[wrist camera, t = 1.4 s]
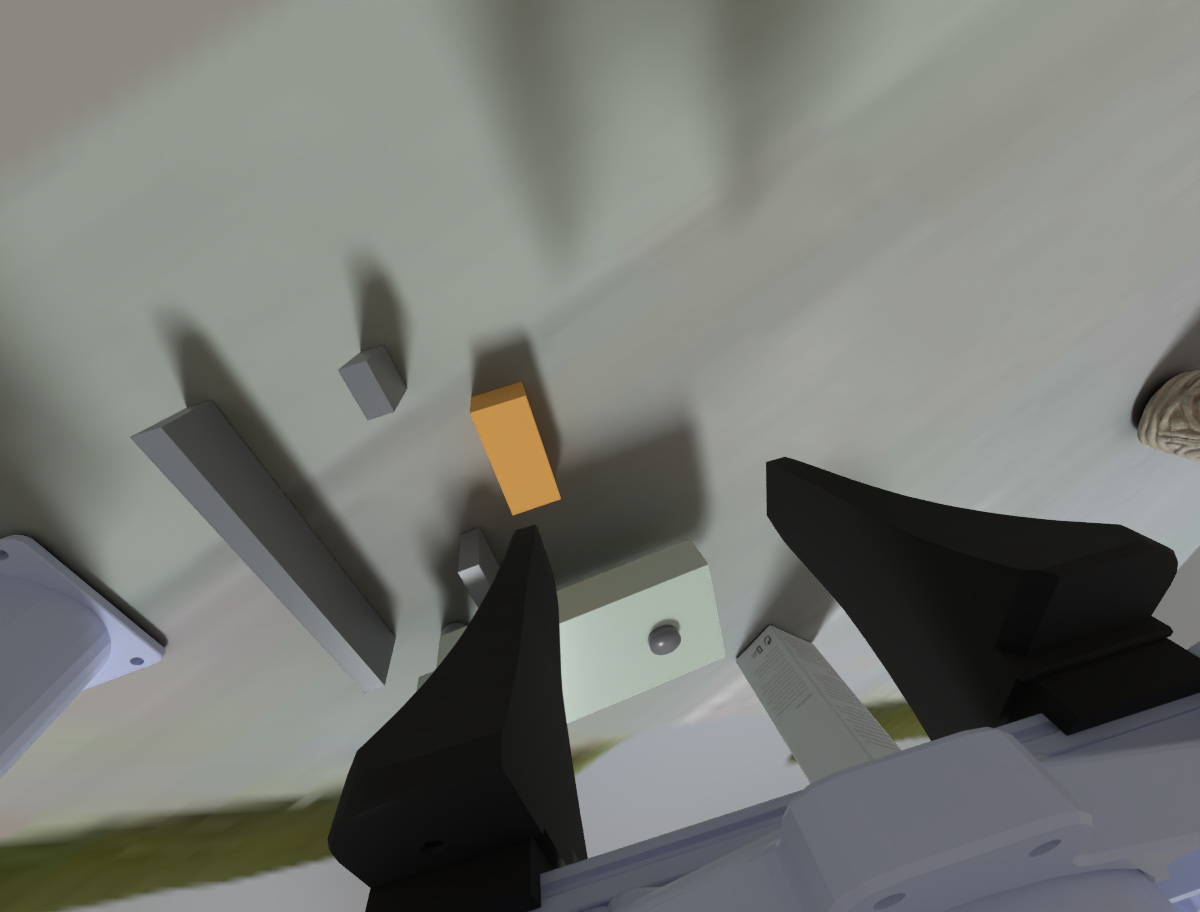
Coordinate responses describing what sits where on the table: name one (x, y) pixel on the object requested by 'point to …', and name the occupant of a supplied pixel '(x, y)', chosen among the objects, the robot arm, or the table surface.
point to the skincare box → (812, 705)
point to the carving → (1174, 417)
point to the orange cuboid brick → (514, 447)
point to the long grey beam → (295, 522)
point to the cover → (630, 629)
